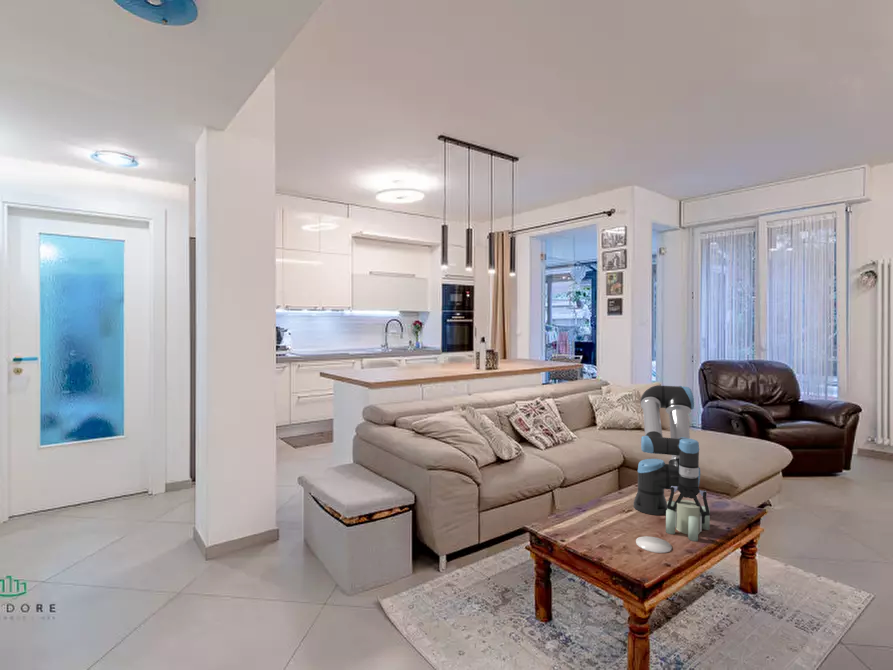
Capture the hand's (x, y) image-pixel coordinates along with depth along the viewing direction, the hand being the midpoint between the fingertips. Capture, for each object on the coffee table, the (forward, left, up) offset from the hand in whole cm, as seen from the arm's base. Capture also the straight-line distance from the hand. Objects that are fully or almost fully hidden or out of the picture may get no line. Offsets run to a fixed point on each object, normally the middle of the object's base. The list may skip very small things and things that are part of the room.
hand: (687, 528), depth 200 cm
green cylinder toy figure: (0, 0, -1) cm, 1 cm away
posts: (0, 0, -1) cm, 1 cm away
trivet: (-12, -22, -1) cm, 25 cm away
